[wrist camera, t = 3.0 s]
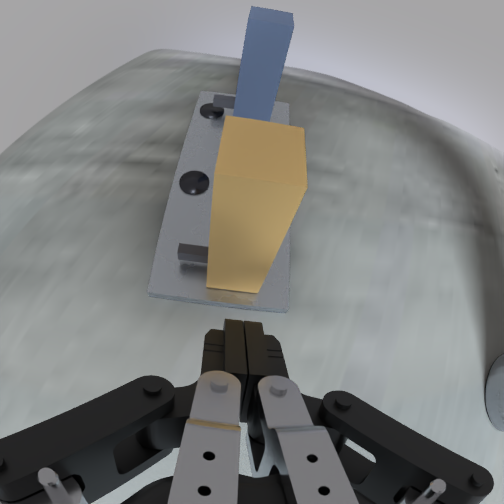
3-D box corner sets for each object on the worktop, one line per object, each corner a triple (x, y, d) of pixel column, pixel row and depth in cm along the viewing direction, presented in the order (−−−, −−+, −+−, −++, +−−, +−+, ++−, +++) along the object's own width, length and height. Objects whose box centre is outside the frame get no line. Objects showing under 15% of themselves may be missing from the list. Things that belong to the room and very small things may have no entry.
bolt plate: (200, 96, 37) (201, 89, 36) (287, 109, 38) (289, 102, 37) (149, 296, 25) (146, 291, 24) (285, 313, 26) (289, 308, 25)
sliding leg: (183, 237, 26) (178, 110, 15) (260, 247, 27) (304, 128, 16) (175, 282, 24) (158, 167, 13) (257, 293, 25) (307, 187, 14)
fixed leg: (215, 101, 35) (226, 3, 24) (268, 108, 36) (292, 13, 25) (210, 121, 34) (220, 15, 22) (267, 129, 34) (294, 26, 23)
